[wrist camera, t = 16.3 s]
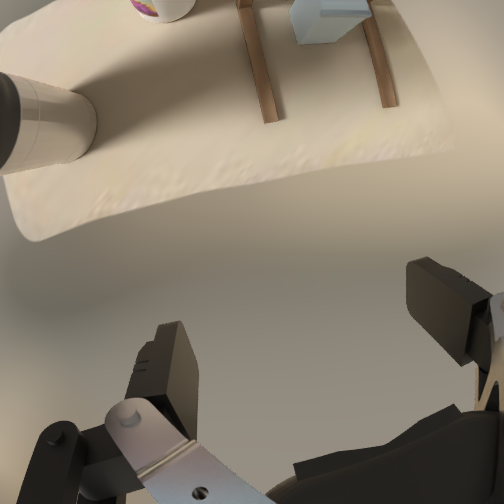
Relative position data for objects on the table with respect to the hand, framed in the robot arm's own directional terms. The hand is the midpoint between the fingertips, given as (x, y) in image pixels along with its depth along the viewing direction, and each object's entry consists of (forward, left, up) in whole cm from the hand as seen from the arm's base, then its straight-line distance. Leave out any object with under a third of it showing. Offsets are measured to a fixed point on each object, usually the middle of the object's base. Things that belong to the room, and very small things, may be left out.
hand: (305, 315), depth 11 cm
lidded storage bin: (+13, +19, -30) cm, 38 cm away
